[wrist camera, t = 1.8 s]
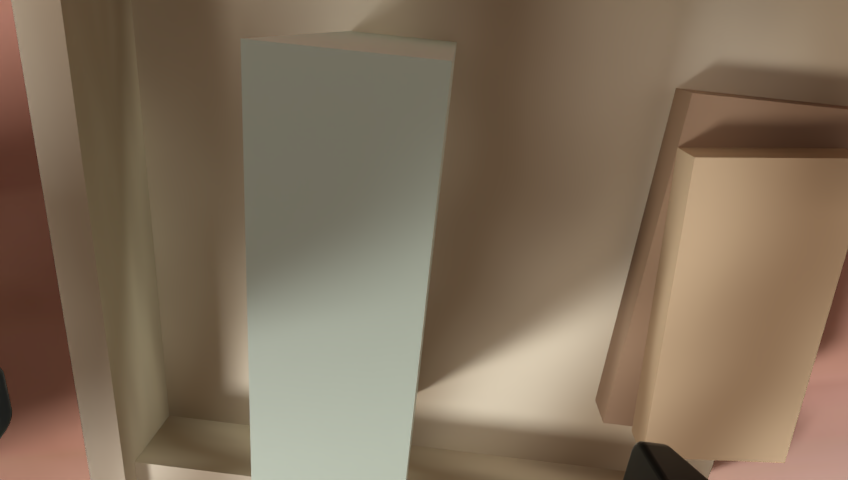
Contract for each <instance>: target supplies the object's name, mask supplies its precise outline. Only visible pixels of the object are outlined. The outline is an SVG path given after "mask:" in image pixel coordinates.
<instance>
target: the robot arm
mask: <svg viewBox="0 0 848 480" xmlns="http://www.w3.org/2000/svg"><path fill="white" fill-rule="evenodd" d="M11 417H12V408H11V403H10V399H9V394H8V389H7V385H6V380H5V376H4V372H3V370H2V369H1V368H0V438H1V437H2V435H3V434H4V432H5V431H6V429H7V428H8V426H9V424H10V421H11ZM623 480H708V479H707V478H706V477H705V476H704V475H702V474H701V473H700V472H699V471H698V470H697V469H695V468H694V467H693V466H692V465H691V464H690V463H688V462H687V461H686V460H685V459H684V458H683V457H681V456H680V455H679V454H678V453H677V452H676V451H674V450H673V449H672V448H671V447H669V446H668V445H666V444H662V443H653V442H645V441H639V442H637V443H636V444H635V445H634V446H633V449H632V451H631V454H630V458H629V461H628V464H627V468H626V471H625V474H624V478H623Z"/></svg>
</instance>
